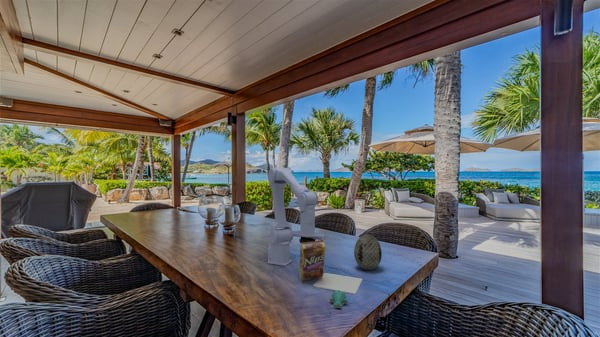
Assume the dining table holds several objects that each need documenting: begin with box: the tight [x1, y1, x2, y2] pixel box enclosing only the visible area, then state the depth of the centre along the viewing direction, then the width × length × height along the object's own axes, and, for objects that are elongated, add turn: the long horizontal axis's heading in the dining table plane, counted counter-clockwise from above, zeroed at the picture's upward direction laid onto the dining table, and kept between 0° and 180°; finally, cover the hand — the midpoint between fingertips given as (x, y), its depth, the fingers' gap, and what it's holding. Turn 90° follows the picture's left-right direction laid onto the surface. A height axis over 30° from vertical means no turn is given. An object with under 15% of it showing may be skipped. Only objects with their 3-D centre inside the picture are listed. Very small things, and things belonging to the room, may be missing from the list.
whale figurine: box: [328, 290, 349, 309], centre depth 85 cm, size 6×7×4 cm
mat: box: [312, 272, 363, 295], centre depth 101 cm, size 16×14×1 cm
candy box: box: [298, 240, 327, 282], centre depth 103 cm, size 9×4×15 cm, turn 103°
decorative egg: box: [353, 233, 383, 271], centre depth 117 cm, size 12×12×15 cm
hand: (307, 256), depth 106 cm, fingers closed
